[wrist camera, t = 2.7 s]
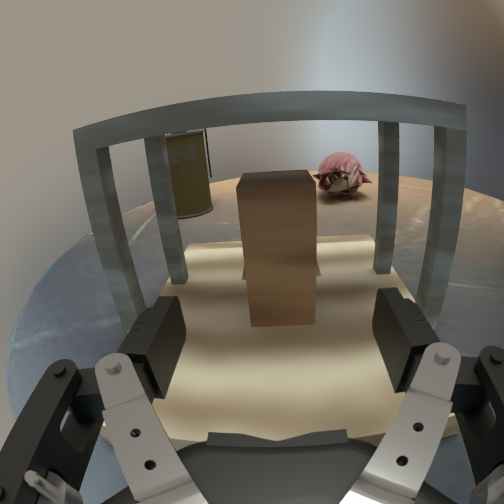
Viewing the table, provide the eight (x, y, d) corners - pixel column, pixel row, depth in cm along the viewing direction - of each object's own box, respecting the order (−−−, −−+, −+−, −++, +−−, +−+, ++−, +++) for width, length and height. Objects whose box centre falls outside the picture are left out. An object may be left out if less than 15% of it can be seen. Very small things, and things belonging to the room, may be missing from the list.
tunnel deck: (193, 263, 41) (170, 120, 33) (367, 255, 39) (369, 107, 31) (111, 445, 16) (-25, 155, 8) (457, 433, 14) (562, 119, 5)
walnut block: (254, 292, 28) (243, 173, 23) (308, 290, 27) (306, 169, 23) (251, 327, 23) (236, 187, 19) (314, 324, 23) (315, 183, 18)
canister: (167, 222, 60) (152, 125, 51) (166, 209, 69) (153, 126, 60) (219, 212, 62) (207, 116, 54) (210, 201, 71) (200, 118, 63)
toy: (370, 204, 55) (380, 184, 66) (353, 151, 52) (366, 142, 63) (317, 215, 63) (336, 194, 74) (299, 167, 60) (322, 154, 71)
